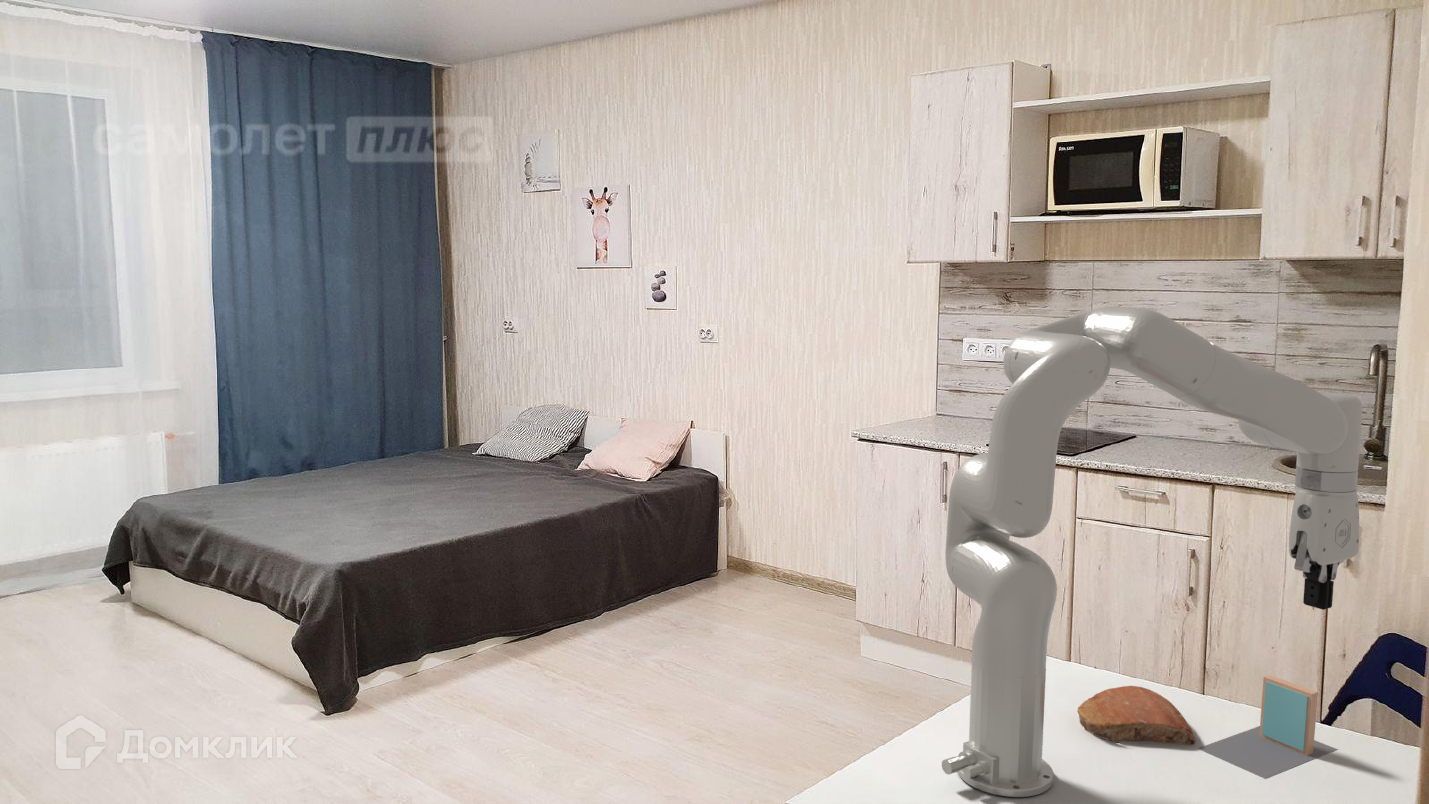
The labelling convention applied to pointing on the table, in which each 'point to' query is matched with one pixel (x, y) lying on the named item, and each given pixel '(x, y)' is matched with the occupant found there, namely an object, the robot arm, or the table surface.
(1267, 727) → the tile
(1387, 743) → the table surface
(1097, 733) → the ceramic shard
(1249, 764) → the mat
